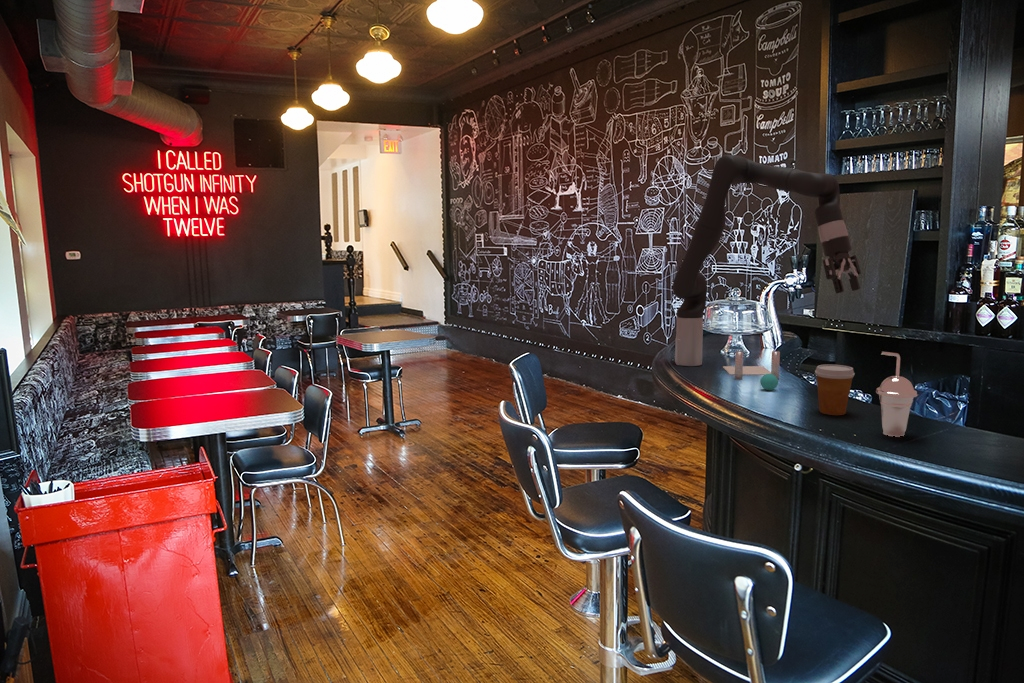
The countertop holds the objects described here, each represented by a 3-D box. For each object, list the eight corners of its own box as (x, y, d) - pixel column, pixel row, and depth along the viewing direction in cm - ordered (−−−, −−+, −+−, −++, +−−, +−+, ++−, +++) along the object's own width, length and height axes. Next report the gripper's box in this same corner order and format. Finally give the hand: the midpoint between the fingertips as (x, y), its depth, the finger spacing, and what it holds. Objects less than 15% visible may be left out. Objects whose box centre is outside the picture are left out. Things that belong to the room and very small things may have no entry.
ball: (762, 391, 210) (762, 375, 209) (758, 388, 215) (758, 372, 214) (779, 392, 209) (780, 375, 208) (775, 388, 214) (775, 372, 213)
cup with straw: (920, 440, 160) (926, 353, 157) (877, 438, 161) (883, 352, 158) (906, 429, 168) (912, 347, 165) (866, 428, 170) (870, 346, 167)
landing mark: (730, 374, 235) (730, 374, 235) (722, 366, 249) (722, 366, 249) (773, 374, 234) (773, 374, 234) (763, 366, 247) (763, 366, 247)
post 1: (735, 379, 227) (736, 352, 226) (733, 378, 230) (734, 351, 228) (743, 379, 227) (743, 352, 226) (741, 378, 229) (742, 351, 228)
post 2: (771, 380, 226) (772, 352, 225) (770, 378, 228) (771, 351, 227) (779, 380, 226) (780, 352, 224) (777, 378, 228) (778, 351, 227)
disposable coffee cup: (804, 410, 188) (806, 366, 186) (831, 406, 191) (833, 363, 190) (833, 418, 179) (836, 372, 177) (860, 414, 183) (863, 368, 181)
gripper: (836, 241, 215) (849, 292, 214) (809, 243, 207) (822, 296, 206) (859, 233, 209) (873, 286, 208) (832, 235, 201) (846, 290, 200)
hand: (848, 291), depth 207 cm, fingers open, 8 cm apart
